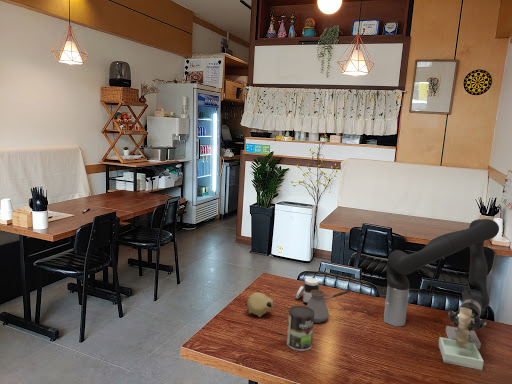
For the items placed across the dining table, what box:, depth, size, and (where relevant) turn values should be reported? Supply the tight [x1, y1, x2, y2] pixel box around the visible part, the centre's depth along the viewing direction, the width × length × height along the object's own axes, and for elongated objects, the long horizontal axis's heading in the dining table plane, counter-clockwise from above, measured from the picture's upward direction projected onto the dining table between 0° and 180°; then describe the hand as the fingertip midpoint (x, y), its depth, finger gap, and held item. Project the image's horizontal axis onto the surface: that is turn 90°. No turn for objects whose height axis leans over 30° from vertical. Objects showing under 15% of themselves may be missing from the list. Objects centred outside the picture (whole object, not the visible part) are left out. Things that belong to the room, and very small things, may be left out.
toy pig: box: [246, 292, 274, 318], centre depth 176 cm, size 10×12×11 cm
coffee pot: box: [305, 289, 353, 324], centre depth 173 cm, size 21×12×15 cm, turn 87°
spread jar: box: [294, 277, 320, 305], centre depth 192 cm, size 12×11×12 cm
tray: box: [438, 336, 484, 371], centre depth 149 cm, size 13×13×4 cm
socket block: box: [445, 325, 482, 350], centre depth 162 cm, size 11×11×2 cm
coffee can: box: [286, 305, 314, 352], centre depth 152 cm, size 10×10×14 cm
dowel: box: [456, 307, 472, 348], centre depth 147 cm, size 4×4×15 cm
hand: (462, 326), depth 145 cm, fingers closed on dowel, 4 cm apart
